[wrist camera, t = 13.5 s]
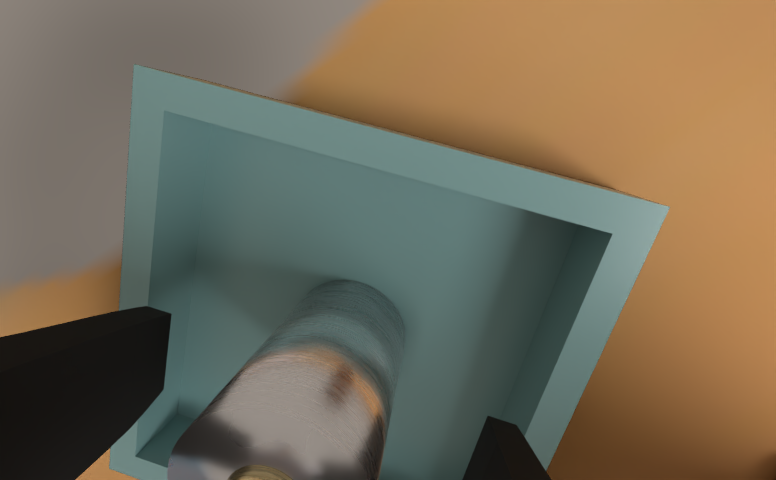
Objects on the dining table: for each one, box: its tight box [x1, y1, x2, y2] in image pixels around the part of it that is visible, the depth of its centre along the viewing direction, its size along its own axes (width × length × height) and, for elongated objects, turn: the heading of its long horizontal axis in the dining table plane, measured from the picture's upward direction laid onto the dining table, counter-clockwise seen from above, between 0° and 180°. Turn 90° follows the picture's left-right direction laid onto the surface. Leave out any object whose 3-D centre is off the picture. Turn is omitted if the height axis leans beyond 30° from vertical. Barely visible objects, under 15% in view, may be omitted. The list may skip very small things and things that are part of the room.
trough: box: [109, 64, 670, 480], centre depth 11 cm, size 12×12×2 cm
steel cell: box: [167, 280, 406, 480], centre depth 9 cm, size 3×3×6 cm
